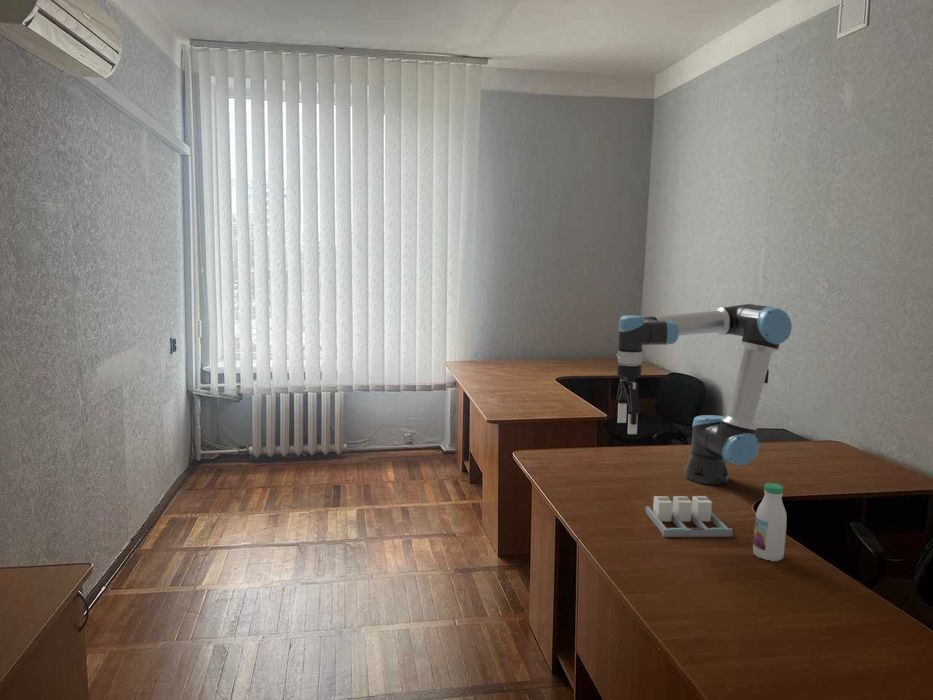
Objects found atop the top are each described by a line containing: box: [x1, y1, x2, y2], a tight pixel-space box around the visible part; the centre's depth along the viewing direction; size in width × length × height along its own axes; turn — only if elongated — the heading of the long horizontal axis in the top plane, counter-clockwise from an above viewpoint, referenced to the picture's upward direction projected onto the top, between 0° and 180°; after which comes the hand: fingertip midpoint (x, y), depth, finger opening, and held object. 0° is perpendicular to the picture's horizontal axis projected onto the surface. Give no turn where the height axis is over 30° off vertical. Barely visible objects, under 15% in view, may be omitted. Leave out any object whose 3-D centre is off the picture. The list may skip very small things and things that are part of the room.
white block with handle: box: [652, 495, 673, 523], centre depth 202 cm, size 4×5×7 cm
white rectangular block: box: [691, 495, 713, 522], centre depth 203 cm, size 4×5×7 cm
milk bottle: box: [752, 482, 788, 562], centre depth 181 cm, size 8×8×20 cm
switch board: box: [645, 506, 734, 538], centre depth 199 cm, size 20×18×4 cm
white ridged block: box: [672, 495, 692, 523], centre depth 202 cm, size 4×5×7 cm
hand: (626, 428), depth 218 cm, fingers open, 13 cm apart
